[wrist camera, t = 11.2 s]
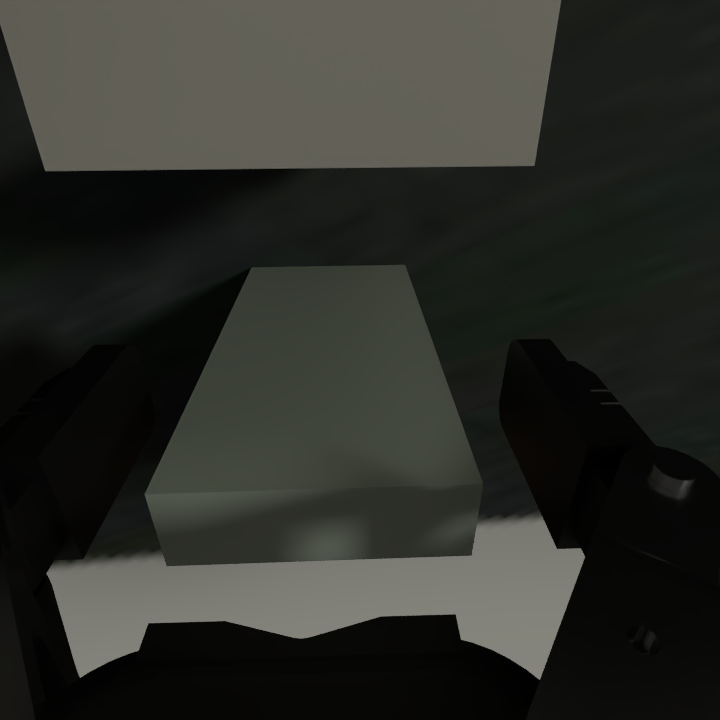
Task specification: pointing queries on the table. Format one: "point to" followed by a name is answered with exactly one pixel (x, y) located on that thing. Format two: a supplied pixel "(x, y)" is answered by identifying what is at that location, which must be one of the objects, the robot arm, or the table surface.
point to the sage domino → (318, 430)
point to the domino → (281, 82)
